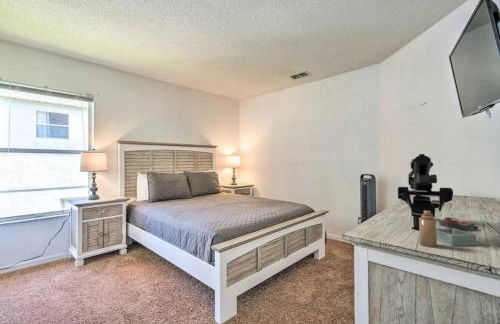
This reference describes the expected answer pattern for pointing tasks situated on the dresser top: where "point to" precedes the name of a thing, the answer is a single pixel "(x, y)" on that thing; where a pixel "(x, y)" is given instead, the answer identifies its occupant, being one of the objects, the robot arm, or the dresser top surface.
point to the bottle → (428, 230)
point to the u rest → (457, 238)
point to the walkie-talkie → (456, 224)
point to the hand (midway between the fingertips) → (425, 210)
